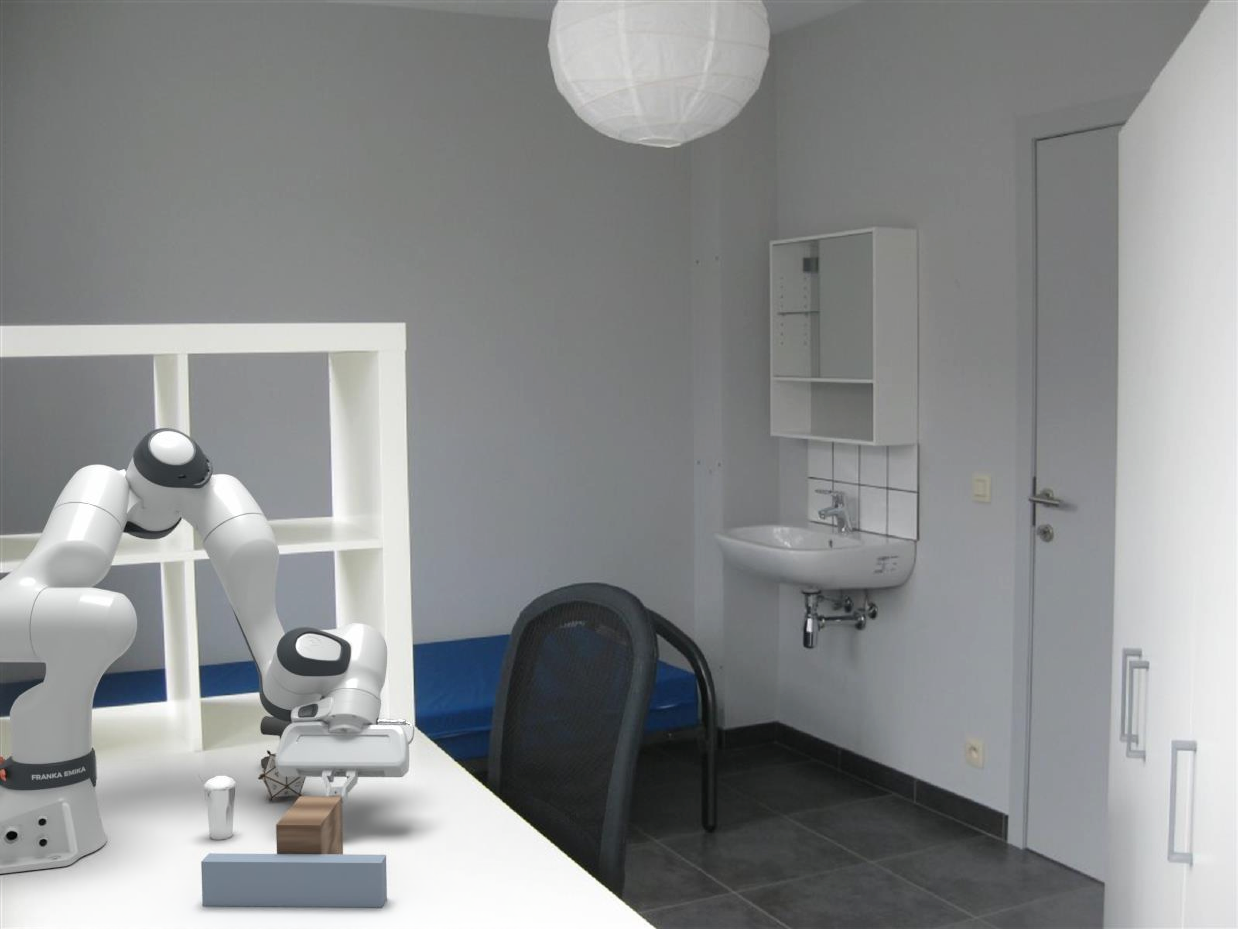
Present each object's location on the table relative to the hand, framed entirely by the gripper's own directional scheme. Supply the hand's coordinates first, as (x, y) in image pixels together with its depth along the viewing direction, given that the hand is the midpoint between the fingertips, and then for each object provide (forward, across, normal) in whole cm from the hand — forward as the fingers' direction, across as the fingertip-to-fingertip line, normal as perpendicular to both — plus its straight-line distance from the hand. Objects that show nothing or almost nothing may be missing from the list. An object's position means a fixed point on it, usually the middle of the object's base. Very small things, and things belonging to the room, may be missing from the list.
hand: (335, 800), depth 201 cm
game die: (-10, +14, -19) cm, 25 cm away
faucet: (-25, +15, -34) cm, 45 cm away
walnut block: (+15, 0, +6) cm, 16 cm away
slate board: (+20, 0, +11) cm, 23 cm away
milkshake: (+3, +19, -6) cm, 20 cm away
